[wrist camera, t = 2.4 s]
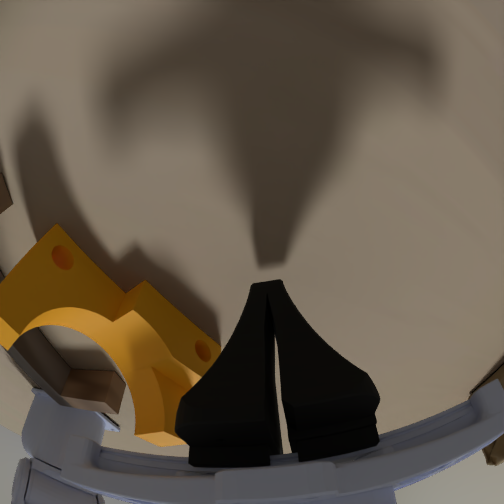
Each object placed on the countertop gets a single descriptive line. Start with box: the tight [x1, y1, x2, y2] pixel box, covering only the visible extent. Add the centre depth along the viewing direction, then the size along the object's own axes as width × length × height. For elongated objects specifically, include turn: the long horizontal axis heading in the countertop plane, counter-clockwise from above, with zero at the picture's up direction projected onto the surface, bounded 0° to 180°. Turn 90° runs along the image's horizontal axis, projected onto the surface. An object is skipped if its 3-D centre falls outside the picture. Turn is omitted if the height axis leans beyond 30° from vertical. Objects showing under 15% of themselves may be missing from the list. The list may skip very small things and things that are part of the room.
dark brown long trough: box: [0, 173, 126, 414], centre depth 14 cm, size 7×18×3 cm, turn 10°
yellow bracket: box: [0, 223, 221, 447], centre depth 12 cm, size 12×4×6 cm, turn 34°
